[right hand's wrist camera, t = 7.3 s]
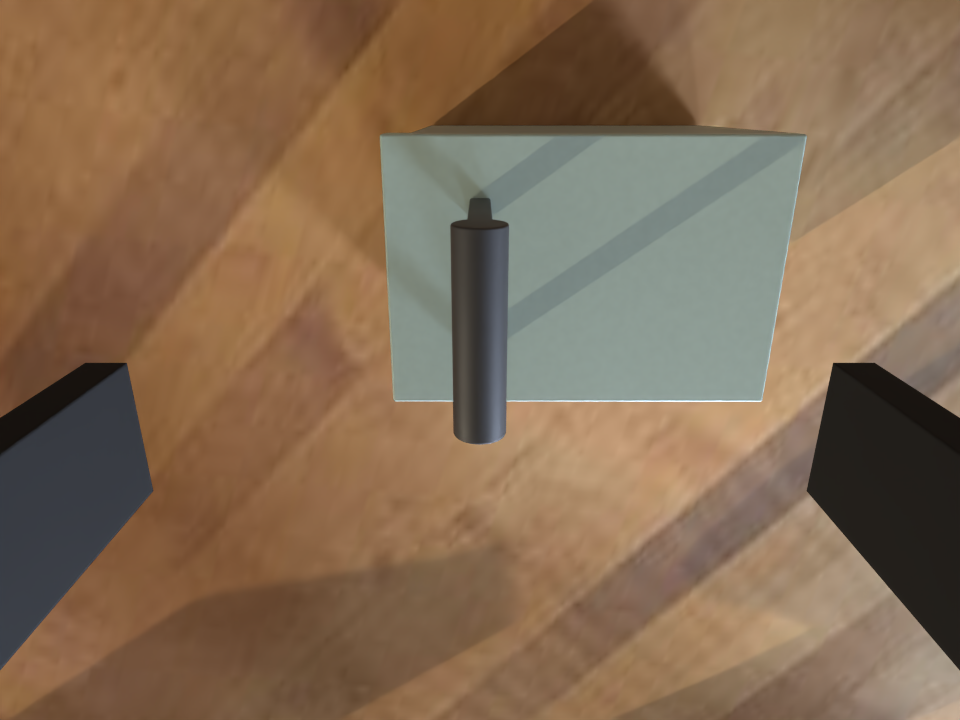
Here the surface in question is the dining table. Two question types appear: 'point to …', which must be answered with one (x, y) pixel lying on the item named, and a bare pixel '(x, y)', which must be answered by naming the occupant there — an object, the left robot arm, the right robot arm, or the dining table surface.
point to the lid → (583, 266)
